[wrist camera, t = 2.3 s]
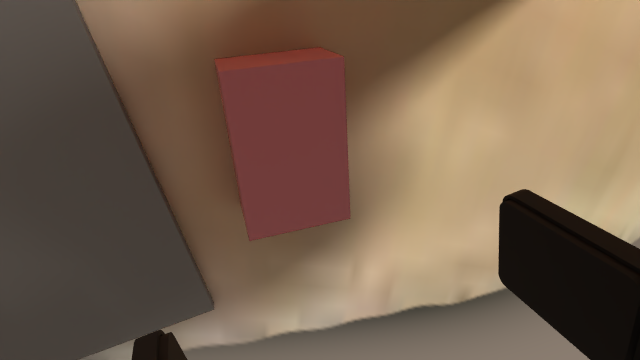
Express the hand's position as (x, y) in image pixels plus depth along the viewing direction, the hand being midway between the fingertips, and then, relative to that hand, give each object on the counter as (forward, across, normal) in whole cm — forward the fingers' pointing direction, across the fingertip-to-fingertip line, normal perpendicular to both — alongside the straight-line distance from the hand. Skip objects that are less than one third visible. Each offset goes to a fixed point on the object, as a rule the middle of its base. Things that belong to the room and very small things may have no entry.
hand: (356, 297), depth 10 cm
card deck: (+13, -1, 0) cm, 13 cm away
